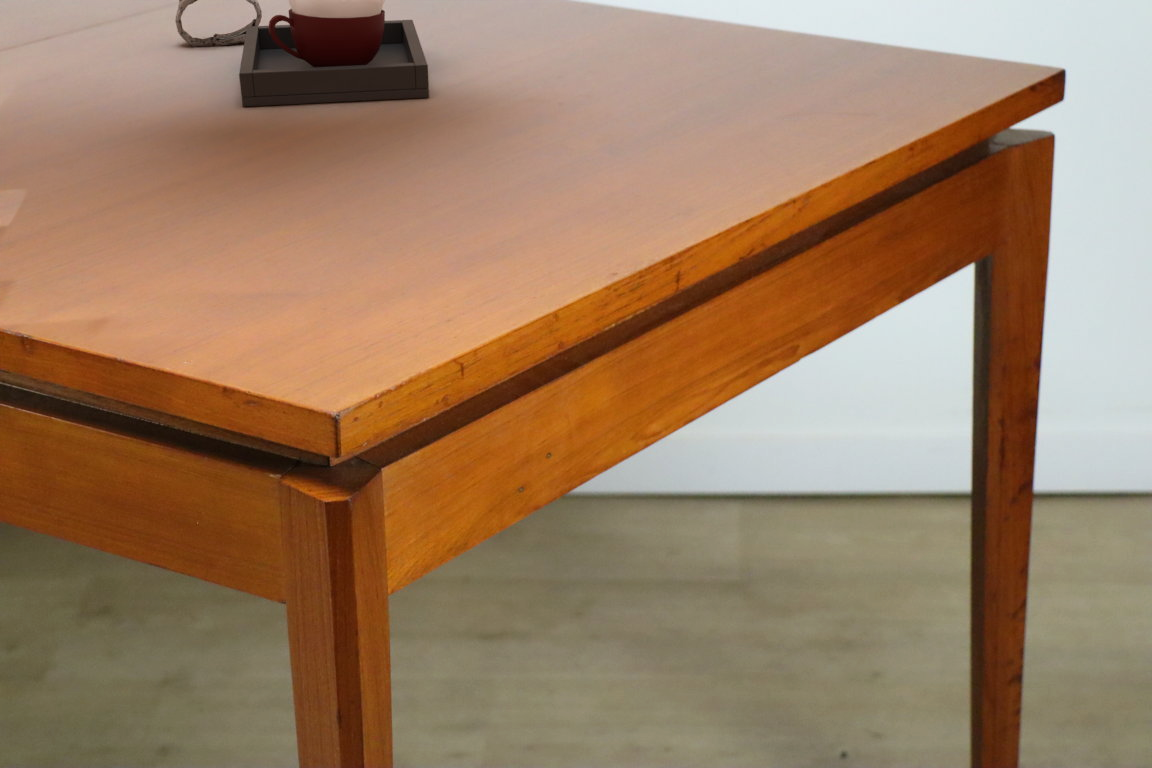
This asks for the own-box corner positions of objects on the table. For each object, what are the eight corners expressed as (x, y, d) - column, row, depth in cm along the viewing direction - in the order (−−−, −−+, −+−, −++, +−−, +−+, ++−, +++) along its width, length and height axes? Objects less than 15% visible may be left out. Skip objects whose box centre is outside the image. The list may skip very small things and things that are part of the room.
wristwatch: (179, 40, 112) (171, -29, 110) (264, 36, 113) (258, -32, 111) (176, 50, 109) (167, -20, 107) (263, 46, 110) (257, -24, 108)
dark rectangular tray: (242, 107, 94) (238, 73, 93) (250, 56, 107) (247, 26, 106) (429, 97, 96) (427, 64, 95) (414, 48, 109) (412, 19, 108)
